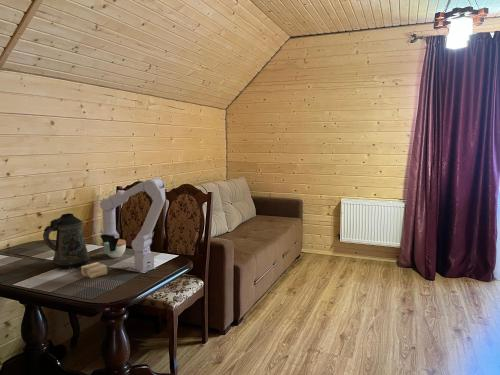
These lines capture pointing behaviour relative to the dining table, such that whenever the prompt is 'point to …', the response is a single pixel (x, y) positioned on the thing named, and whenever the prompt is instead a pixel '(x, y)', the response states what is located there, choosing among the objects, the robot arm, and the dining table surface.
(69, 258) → the beer stein
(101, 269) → the birch base block
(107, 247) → the teal block
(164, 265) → the dining table surface
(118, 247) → the lidded jar
